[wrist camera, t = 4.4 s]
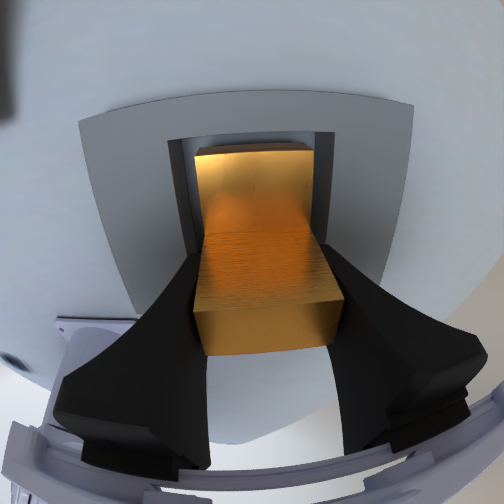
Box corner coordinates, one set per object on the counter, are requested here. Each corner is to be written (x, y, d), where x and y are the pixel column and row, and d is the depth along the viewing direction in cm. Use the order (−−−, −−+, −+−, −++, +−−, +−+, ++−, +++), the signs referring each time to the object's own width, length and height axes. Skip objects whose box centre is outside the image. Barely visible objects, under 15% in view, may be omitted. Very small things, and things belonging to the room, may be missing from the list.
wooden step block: (299, 250, 13) (332, 344, 8) (213, 256, 13) (205, 355, 8) (303, 142, 10) (363, 192, 5) (199, 147, 10) (169, 202, 5)
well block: (360, 268, 16) (375, 295, 14) (146, 283, 15) (137, 314, 13) (384, 99, 10) (414, 105, 8) (104, 112, 10) (78, 121, 8)
